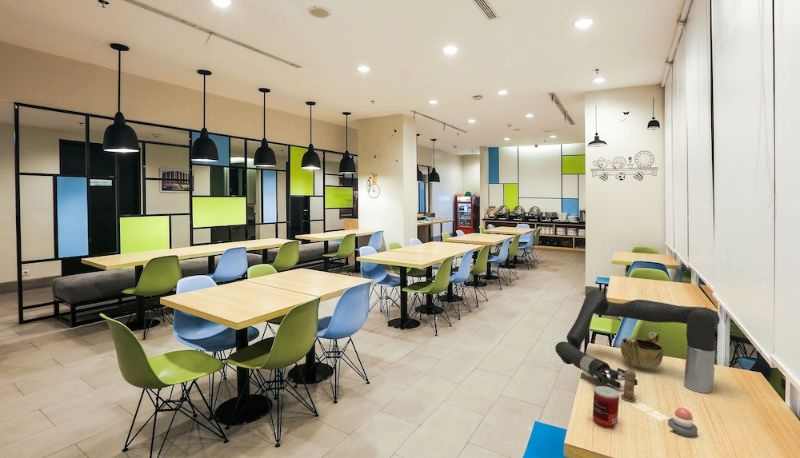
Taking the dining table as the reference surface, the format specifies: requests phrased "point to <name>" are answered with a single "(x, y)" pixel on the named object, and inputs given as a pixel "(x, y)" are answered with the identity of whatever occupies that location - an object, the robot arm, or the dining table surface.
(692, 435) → the dome housing
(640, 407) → the track
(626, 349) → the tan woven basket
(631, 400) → the pawn
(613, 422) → the canned food
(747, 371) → the dining table surface
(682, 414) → the dome plunger
